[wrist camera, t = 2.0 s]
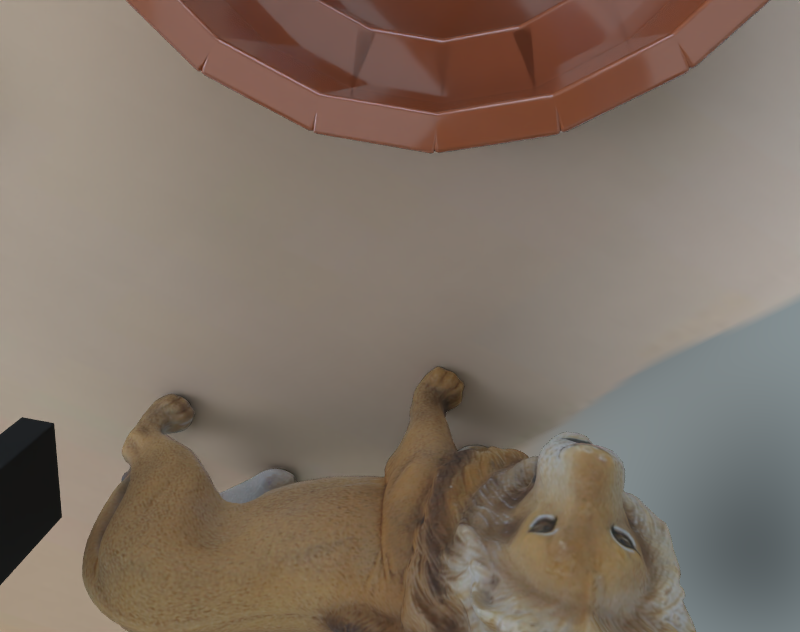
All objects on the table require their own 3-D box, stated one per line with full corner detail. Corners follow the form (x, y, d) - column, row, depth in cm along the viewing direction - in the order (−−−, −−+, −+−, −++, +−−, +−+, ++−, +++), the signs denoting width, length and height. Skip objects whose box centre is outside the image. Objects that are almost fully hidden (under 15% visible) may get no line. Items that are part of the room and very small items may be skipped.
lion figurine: (582, 288, 15) (716, 544, 7) (618, 457, 17) (757, 818, 9) (97, 405, 18) (-205, 681, 10) (170, 539, 20) (-36, 866, 12)
